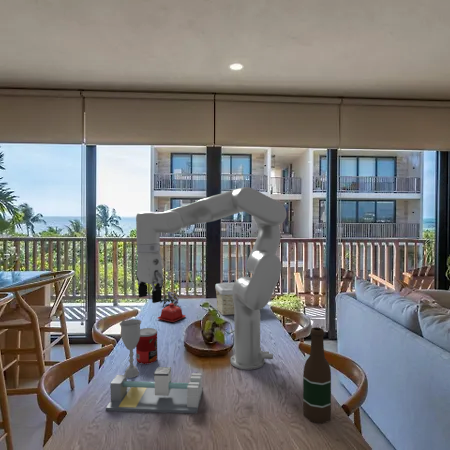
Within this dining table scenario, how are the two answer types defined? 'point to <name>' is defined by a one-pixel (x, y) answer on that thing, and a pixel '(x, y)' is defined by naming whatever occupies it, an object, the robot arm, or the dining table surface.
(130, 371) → the chalice
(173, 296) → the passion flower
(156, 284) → the robot arm
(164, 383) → the sleeve
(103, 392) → the dining table surface
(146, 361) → the canned food
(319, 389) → the beer bottle
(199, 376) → the cable rig
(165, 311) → the butter dish
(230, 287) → the storage basket
